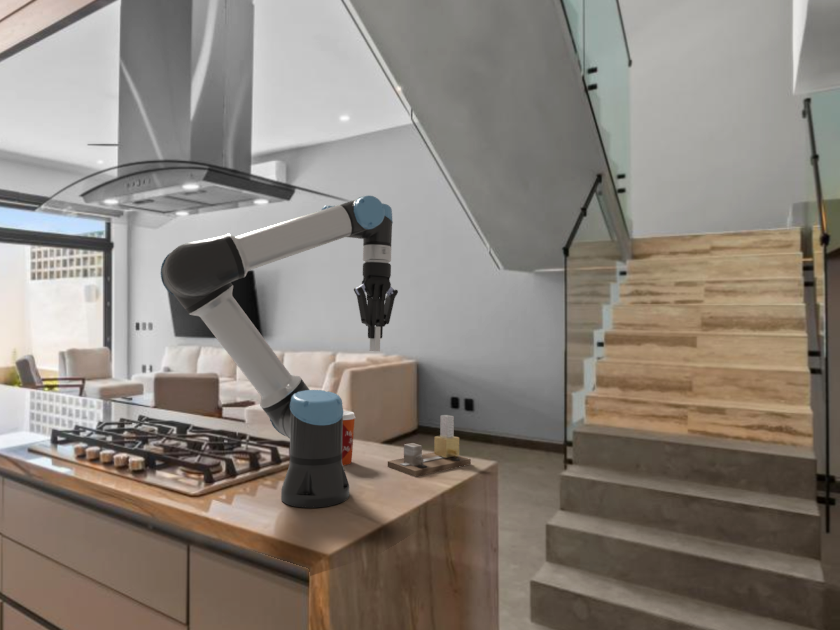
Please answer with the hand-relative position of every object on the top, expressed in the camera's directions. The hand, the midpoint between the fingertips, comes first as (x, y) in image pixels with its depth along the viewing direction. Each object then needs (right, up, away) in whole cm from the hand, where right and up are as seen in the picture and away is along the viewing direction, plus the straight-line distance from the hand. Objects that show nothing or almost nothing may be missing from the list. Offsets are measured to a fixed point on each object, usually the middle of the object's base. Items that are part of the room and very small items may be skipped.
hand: (374, 350), depth 146 cm
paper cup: (-10, -32, +8) cm, 34 cm away
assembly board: (+15, -32, +6) cm, 36 cm away
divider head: (+20, -30, +9) cm, 38 cm away
